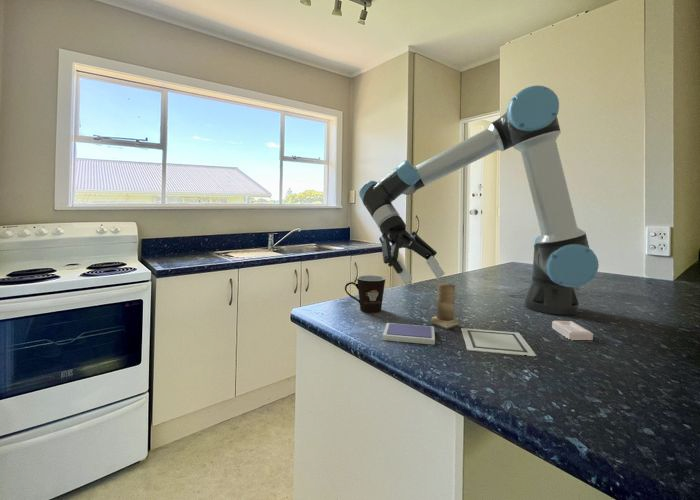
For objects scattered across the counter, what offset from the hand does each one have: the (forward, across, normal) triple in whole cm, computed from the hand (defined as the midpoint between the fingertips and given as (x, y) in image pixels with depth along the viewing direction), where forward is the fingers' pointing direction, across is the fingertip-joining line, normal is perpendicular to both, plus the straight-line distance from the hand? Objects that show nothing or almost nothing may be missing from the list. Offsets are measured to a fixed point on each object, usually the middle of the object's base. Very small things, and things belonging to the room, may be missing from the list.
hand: (425, 279), depth 95 cm
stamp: (+13, -1, -4) cm, 13 cm away
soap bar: (+29, -22, +12) cm, 38 cm away
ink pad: (+12, +13, -4) cm, 18 cm away
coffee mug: (-4, +7, -20) cm, 22 cm away
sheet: (+23, -1, +6) cm, 24 cm away
